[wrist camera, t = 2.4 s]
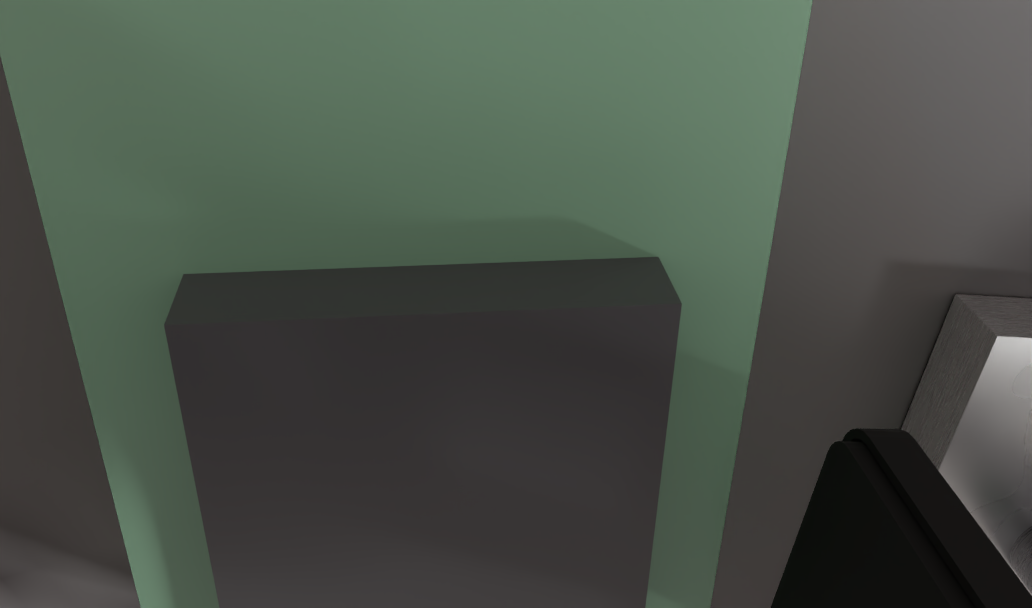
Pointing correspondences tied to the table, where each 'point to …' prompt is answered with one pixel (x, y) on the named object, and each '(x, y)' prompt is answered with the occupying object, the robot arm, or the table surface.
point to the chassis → (983, 418)
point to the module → (412, 285)
